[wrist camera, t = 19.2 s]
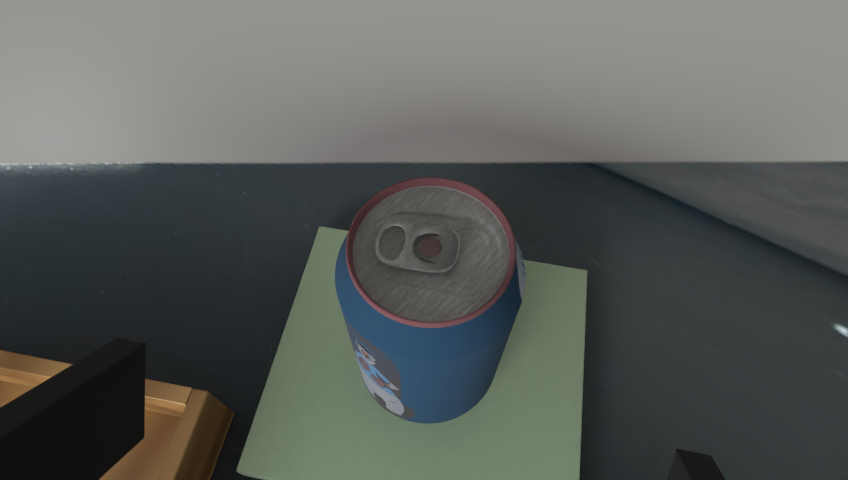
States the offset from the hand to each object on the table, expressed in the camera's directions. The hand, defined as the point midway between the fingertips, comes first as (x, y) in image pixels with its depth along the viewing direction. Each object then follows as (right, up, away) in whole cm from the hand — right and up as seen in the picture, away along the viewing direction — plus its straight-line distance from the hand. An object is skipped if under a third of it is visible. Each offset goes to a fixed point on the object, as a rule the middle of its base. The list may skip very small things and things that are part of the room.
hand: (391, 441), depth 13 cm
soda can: (+1, -2, +15) cm, 15 cm away
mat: (+1, -2, +16) cm, 16 cm away
